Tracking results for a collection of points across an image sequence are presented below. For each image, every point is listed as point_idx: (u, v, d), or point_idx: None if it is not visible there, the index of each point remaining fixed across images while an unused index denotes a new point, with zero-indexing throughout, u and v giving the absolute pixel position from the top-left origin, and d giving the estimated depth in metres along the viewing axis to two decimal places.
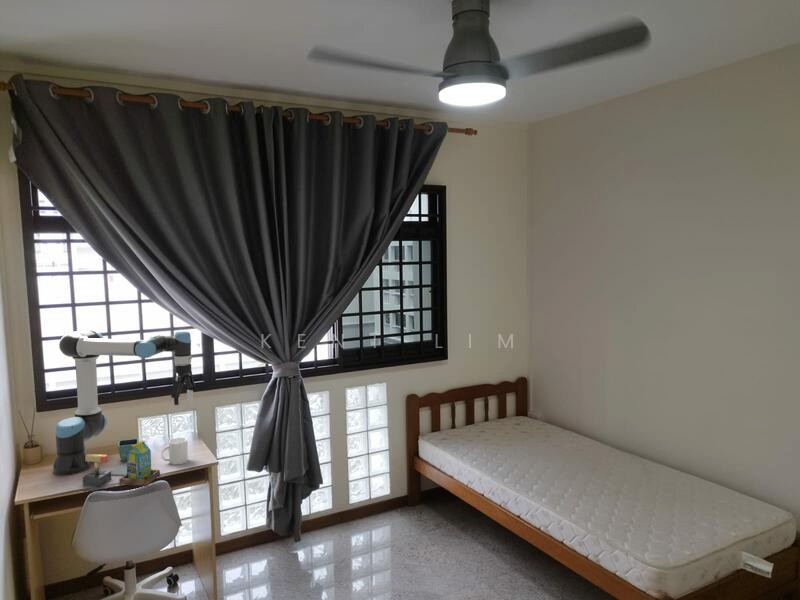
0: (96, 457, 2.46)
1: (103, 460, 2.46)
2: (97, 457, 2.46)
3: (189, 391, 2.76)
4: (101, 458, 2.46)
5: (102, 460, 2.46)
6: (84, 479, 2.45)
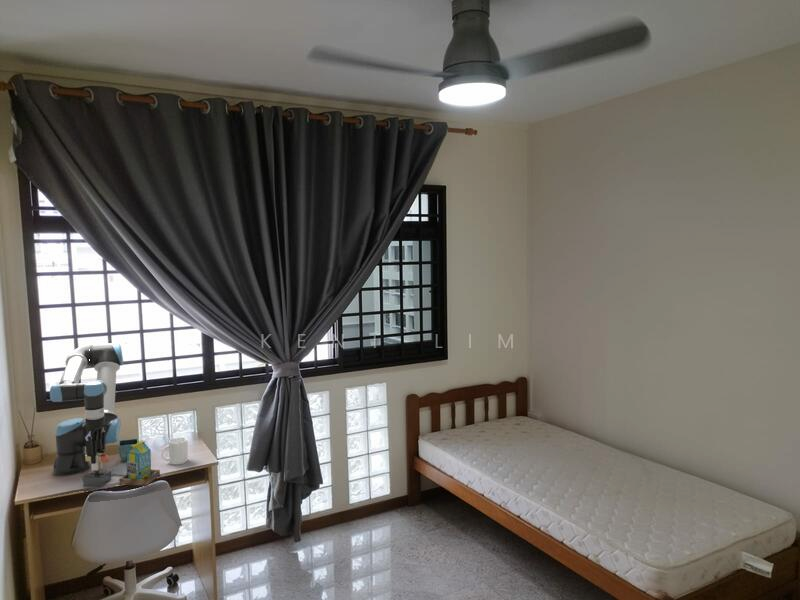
0: None
1: (103, 460, 2.46)
2: None
3: None
4: (101, 458, 2.46)
5: (102, 460, 2.46)
6: (84, 479, 2.45)
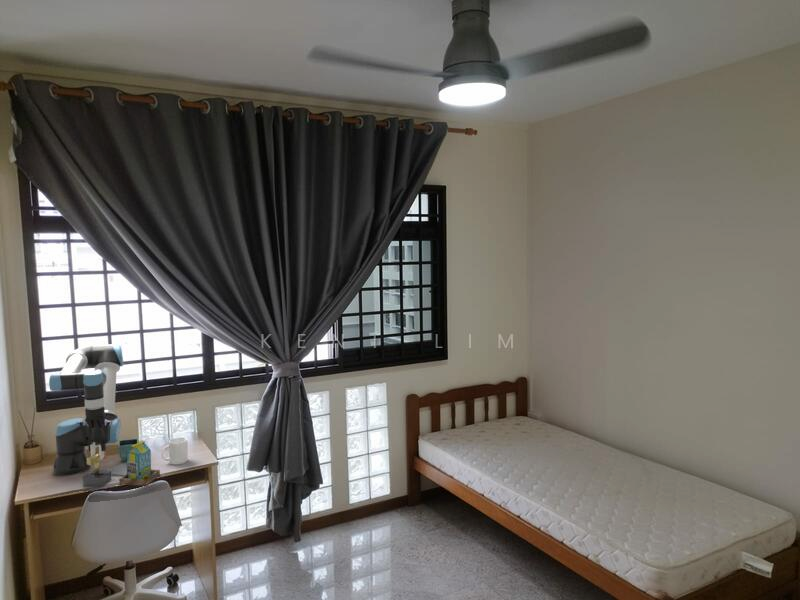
0: (99, 456, 2.48)
1: (105, 456, 2.51)
2: None
3: (93, 445, 2.47)
4: None
5: (104, 456, 2.51)
6: (84, 479, 2.45)
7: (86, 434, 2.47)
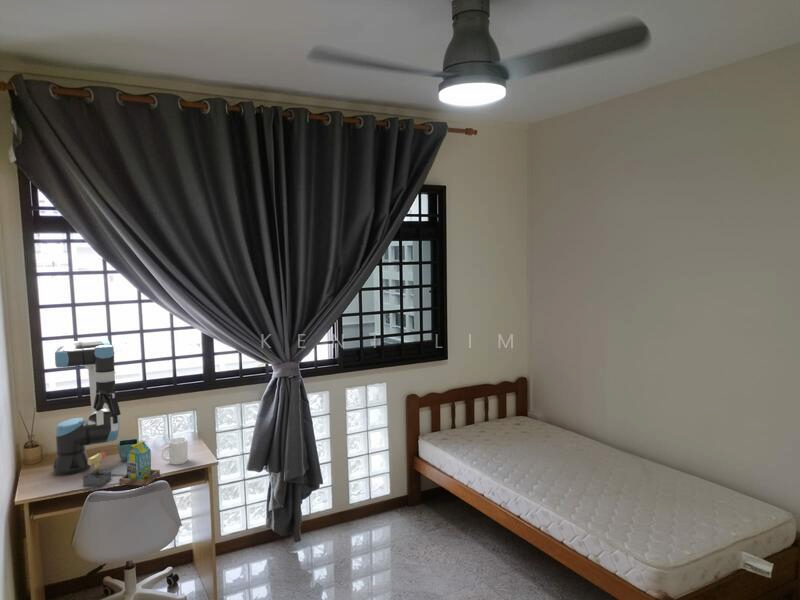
0: (99, 456, 2.48)
1: (104, 456, 2.51)
2: (100, 455, 2.49)
3: (99, 412, 2.50)
4: (103, 455, 2.50)
5: (103, 456, 2.51)
6: (84, 479, 2.45)
7: (98, 402, 2.50)
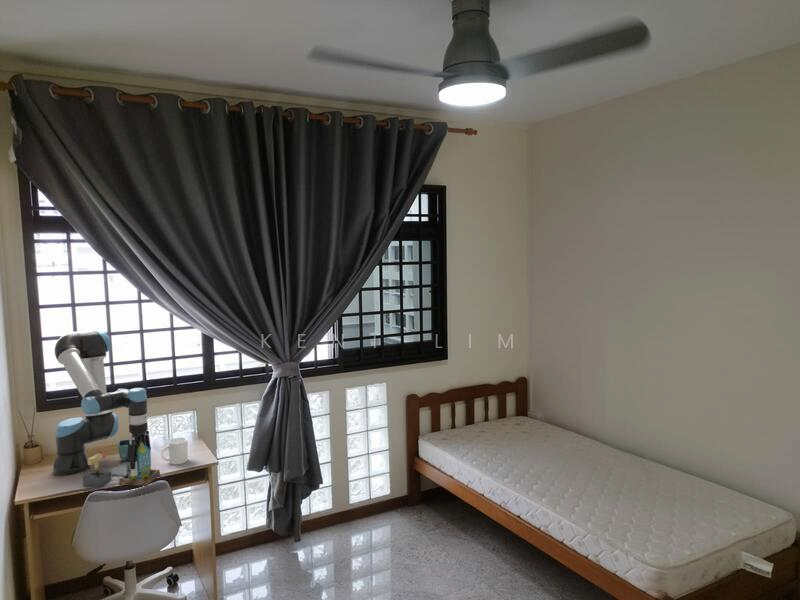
0: (99, 456, 2.48)
1: (104, 456, 2.51)
2: (100, 455, 2.49)
3: None
4: (103, 455, 2.50)
5: (103, 456, 2.51)
6: (84, 479, 2.45)
7: (146, 443, 2.57)
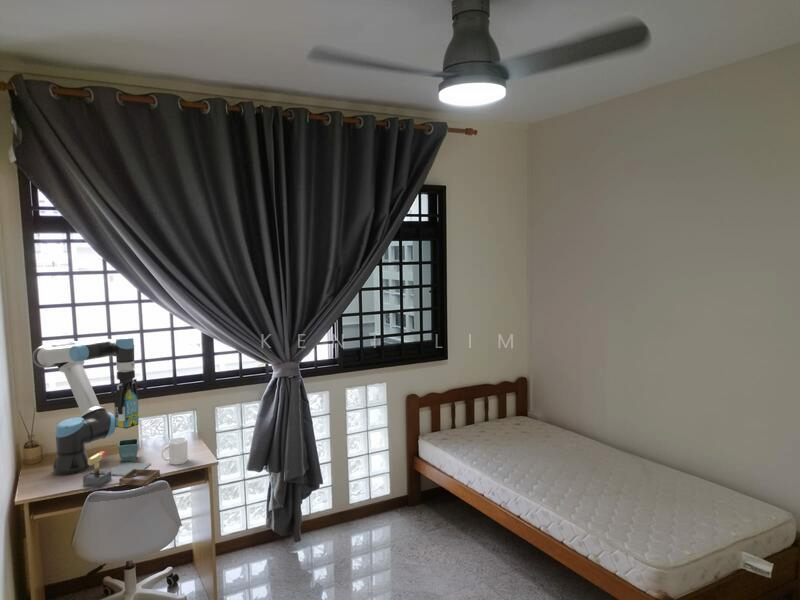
0: (99, 456, 2.48)
1: (104, 456, 2.51)
2: (100, 455, 2.49)
3: None
4: (103, 455, 2.50)
5: (103, 456, 2.51)
6: (84, 479, 2.45)
7: (133, 391, 2.66)
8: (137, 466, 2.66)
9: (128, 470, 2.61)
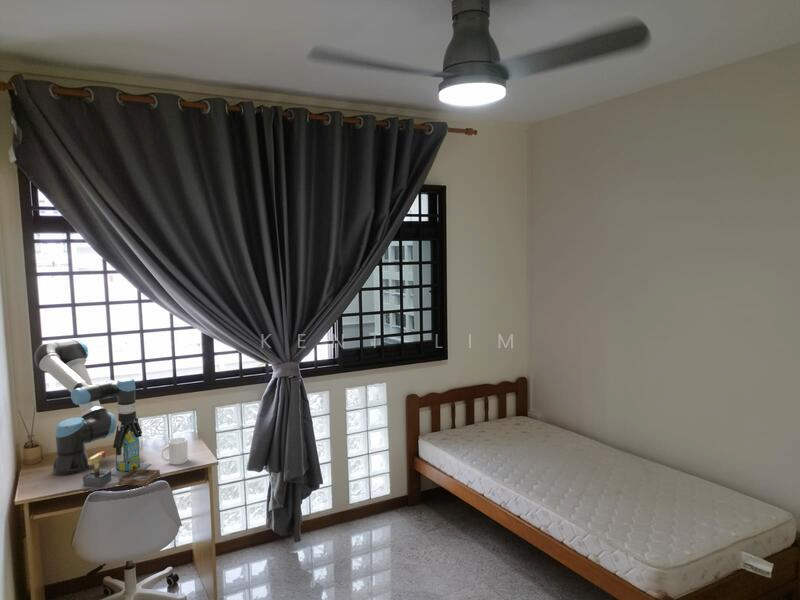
0: (99, 456, 2.48)
1: (104, 456, 2.51)
2: (100, 455, 2.49)
3: None
4: (103, 455, 2.50)
5: (103, 456, 2.51)
6: (84, 479, 2.45)
7: (136, 429, 2.69)
8: None
9: None
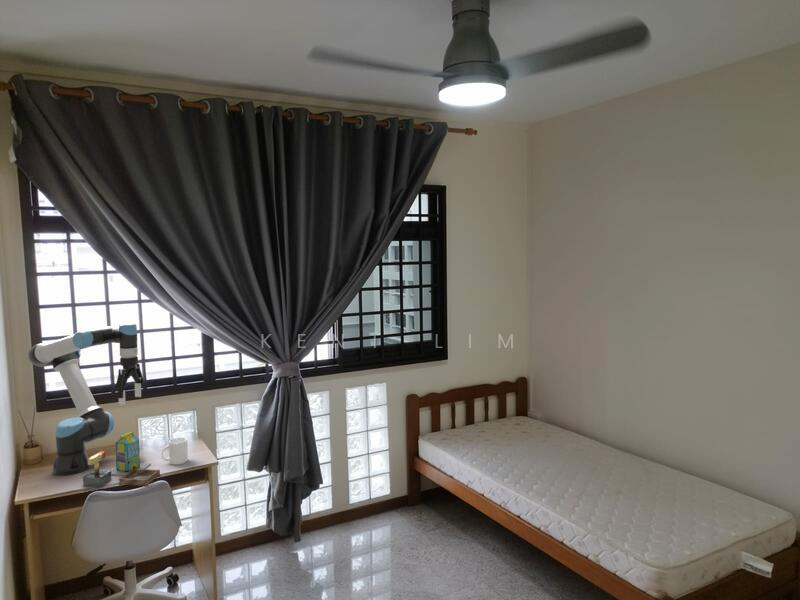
0: (99, 456, 2.48)
1: (104, 456, 2.51)
2: (100, 455, 2.49)
3: (137, 384, 2.69)
4: (103, 455, 2.50)
5: (103, 456, 2.51)
6: (84, 479, 2.45)
7: (138, 375, 2.70)
8: None
9: None
